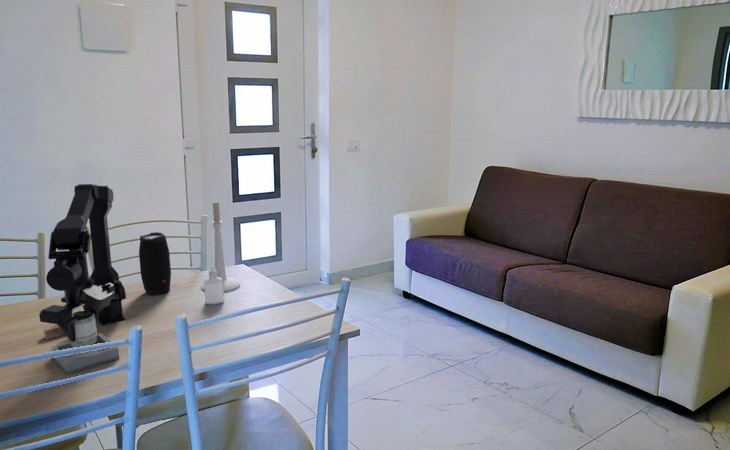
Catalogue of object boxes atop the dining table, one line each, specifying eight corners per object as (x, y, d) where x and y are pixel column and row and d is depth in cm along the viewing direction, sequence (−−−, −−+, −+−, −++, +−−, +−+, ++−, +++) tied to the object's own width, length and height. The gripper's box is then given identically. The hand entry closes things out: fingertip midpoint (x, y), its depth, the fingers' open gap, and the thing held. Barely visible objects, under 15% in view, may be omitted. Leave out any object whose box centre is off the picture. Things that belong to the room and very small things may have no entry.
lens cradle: (72, 329, 157) (71, 321, 157) (89, 345, 147) (87, 336, 147) (44, 336, 153) (43, 328, 152) (60, 354, 143) (58, 345, 142)
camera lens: (86, 349, 136) (82, 320, 134) (64, 347, 137) (59, 317, 135) (103, 338, 142) (99, 310, 140) (82, 336, 143) (78, 307, 141)
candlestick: (240, 291, 187) (235, 203, 180) (200, 294, 184) (194, 205, 177) (239, 279, 199) (235, 196, 192) (202, 281, 196) (196, 198, 189)
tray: (102, 343, 149) (101, 332, 148) (119, 358, 140) (118, 347, 140) (52, 357, 141) (51, 346, 140) (67, 375, 132) (66, 363, 132)
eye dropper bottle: (219, 305, 175) (217, 269, 172) (203, 304, 176) (200, 268, 173) (226, 300, 179) (223, 265, 176) (210, 299, 180) (207, 263, 177)
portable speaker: (174, 293, 185) (169, 236, 181) (144, 298, 181) (139, 240, 176) (169, 285, 193) (165, 230, 188) (140, 290, 188) (135, 233, 184)
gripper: (73, 293, 124) (81, 356, 128) (129, 267, 142) (135, 324, 146) (33, 287, 128) (42, 350, 131) (93, 263, 145) (100, 319, 149)
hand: (83, 335), depth 139 cm, fingers closed on camera lens, 6 cm apart
